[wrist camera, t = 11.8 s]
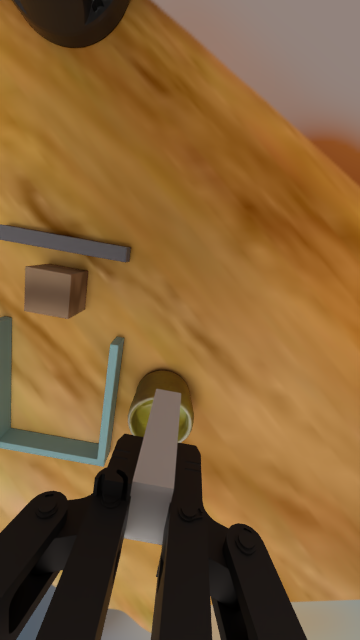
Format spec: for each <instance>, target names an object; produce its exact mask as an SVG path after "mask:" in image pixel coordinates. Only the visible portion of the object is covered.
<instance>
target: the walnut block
mask: <svg viewBox="0 0 360 640" xmlns="http://www.w3.org/2000/svg"><path fill="white" fill-rule="evenodd" d="M87 280H88V271H85V270H79V269H74V268H69V267H63V266H58V265H52V264H44V265H35V266H26V268H25V306H24V311H27V312H33V313H38V314H44V315H49V316H55V317H60V318H65V319H69V318H71V317H72V316H74V315H76V314H78V313H79V312H81V311H83V310H85V303H86V292H87Z"/></svg>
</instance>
